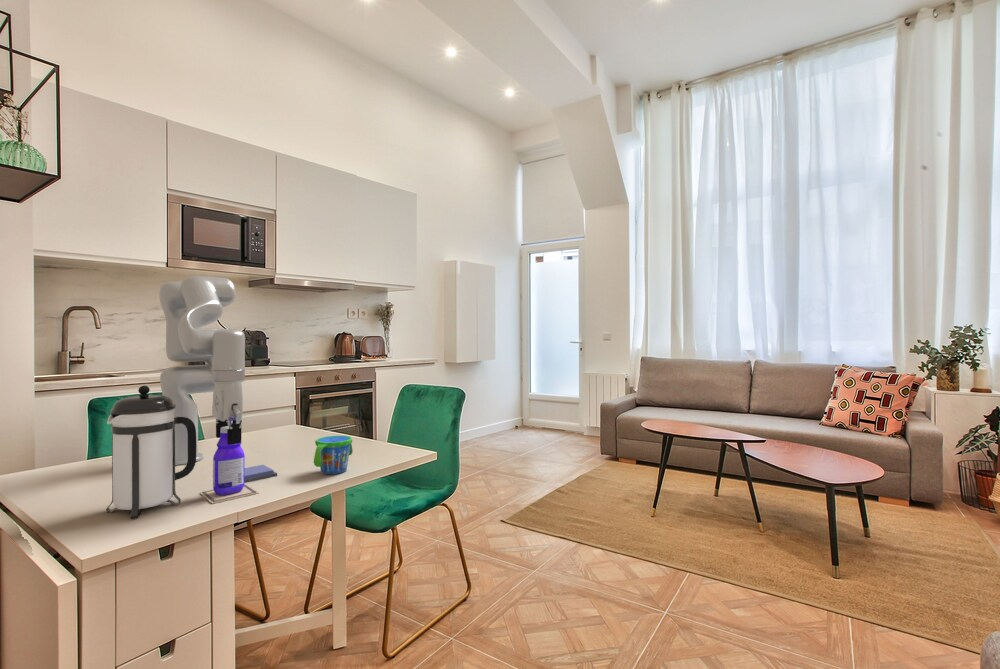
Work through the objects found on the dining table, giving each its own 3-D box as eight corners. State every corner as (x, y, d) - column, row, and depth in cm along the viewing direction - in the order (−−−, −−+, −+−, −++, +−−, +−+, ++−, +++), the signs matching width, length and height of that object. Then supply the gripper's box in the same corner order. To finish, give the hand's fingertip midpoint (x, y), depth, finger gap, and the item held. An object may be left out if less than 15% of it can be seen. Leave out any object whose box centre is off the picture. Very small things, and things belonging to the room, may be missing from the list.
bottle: (240, 486, 132) (240, 423, 132) (247, 491, 128) (247, 426, 128) (210, 492, 127) (210, 427, 127) (217, 498, 123) (216, 430, 123)
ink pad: (229, 475, 143) (229, 470, 143) (264, 469, 150) (264, 463, 150) (240, 483, 136) (240, 477, 136) (277, 475, 143) (277, 470, 143)
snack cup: (339, 463, 157) (339, 432, 157) (364, 467, 152) (364, 435, 152) (301, 476, 143) (301, 442, 143) (328, 481, 138) (327, 445, 138)
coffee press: (173, 515, 112) (173, 387, 112) (91, 523, 108) (91, 390, 107) (197, 491, 129) (196, 380, 129) (127, 497, 124) (126, 382, 124)
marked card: (199, 493, 127) (199, 492, 127) (244, 484, 135) (244, 482, 135) (212, 504, 120) (212, 502, 120) (258, 493, 128) (258, 491, 128)
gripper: (203, 374, 131) (203, 436, 131) (223, 380, 119) (222, 449, 119) (233, 372, 136) (233, 432, 136) (255, 378, 124) (254, 444, 124)
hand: (228, 440), depth 128 cm, fingers open, 9 cm apart
